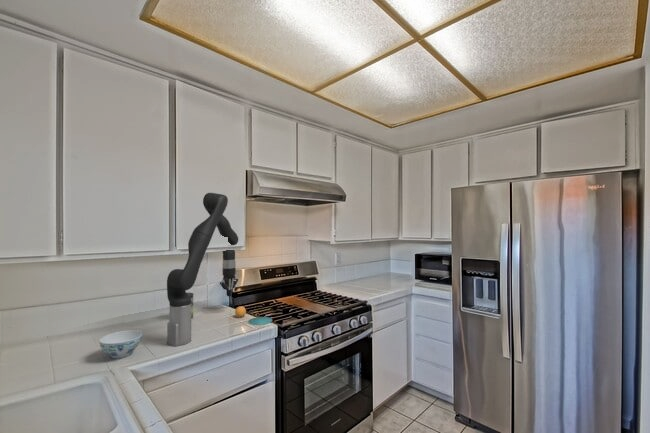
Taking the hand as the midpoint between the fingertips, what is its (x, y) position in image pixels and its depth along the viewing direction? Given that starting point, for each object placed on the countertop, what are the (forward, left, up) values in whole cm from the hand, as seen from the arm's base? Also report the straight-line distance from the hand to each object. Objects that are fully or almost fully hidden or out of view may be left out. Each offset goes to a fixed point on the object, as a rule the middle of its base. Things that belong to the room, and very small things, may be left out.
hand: (229, 296), depth 185 cm
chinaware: (-62, -3, -11) cm, 63 cm away
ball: (0, -9, -8) cm, 12 cm away
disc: (0, -24, -11) cm, 27 cm away
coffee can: (-19, +16, -11) cm, 27 cm away
